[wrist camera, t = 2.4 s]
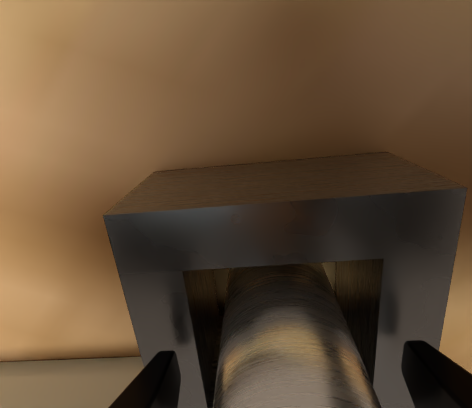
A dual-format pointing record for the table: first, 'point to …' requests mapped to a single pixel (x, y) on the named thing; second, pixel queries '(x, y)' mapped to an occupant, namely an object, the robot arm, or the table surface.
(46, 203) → the table surface
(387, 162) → the bracket
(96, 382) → the tray
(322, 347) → the pin
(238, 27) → the table surface
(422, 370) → the robot arm
